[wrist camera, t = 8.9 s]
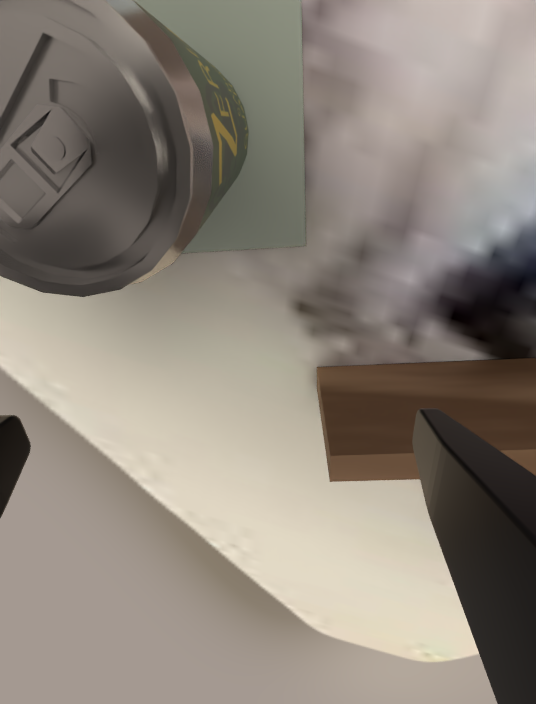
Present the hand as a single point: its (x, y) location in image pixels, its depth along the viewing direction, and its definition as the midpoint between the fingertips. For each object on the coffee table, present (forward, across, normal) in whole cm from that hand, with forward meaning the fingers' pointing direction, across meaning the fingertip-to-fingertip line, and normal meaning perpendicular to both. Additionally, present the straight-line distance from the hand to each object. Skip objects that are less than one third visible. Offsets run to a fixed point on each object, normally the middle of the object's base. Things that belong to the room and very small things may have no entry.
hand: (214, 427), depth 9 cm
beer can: (+12, +2, -6) cm, 14 cm away
